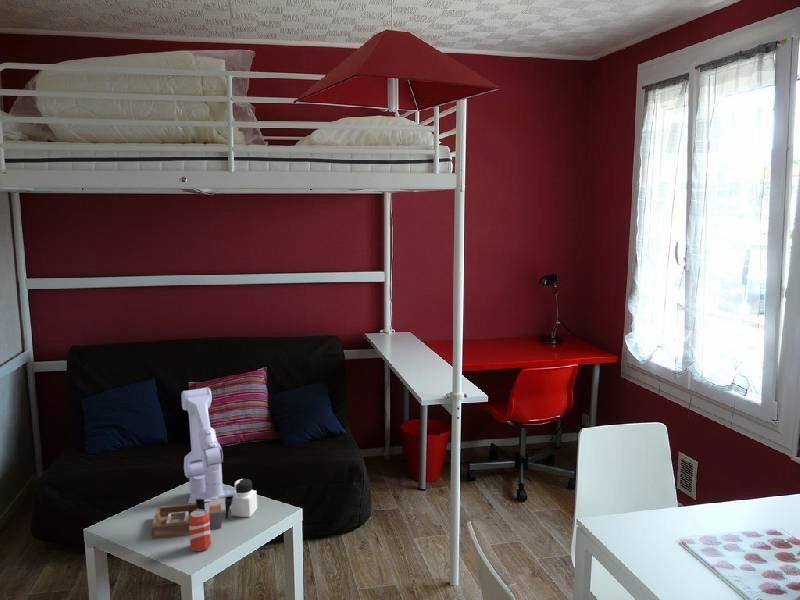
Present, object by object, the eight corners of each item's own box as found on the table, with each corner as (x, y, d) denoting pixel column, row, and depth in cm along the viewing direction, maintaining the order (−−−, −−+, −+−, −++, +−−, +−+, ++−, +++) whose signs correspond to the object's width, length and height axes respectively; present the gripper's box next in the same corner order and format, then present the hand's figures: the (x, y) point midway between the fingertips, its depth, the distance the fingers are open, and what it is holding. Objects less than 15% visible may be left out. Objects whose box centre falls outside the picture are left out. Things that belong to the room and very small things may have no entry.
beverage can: (205, 540, 221) (202, 506, 219) (214, 547, 216) (212, 513, 214) (187, 547, 217) (185, 512, 215) (196, 554, 212) (194, 519, 210)
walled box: (158, 517, 237) (157, 507, 236) (202, 513, 240) (201, 502, 239) (151, 538, 222) (151, 527, 222) (198, 533, 225) (197, 522, 225)
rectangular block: (211, 522, 233) (210, 504, 232) (221, 521, 233) (220, 502, 232) (210, 529, 228) (209, 510, 227) (220, 528, 229) (219, 509, 228)
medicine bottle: (257, 508, 243) (256, 477, 241) (250, 517, 236) (248, 485, 234) (239, 507, 244) (237, 476, 242) (231, 516, 237) (229, 484, 235)
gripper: (190, 488, 223) (192, 526, 225) (234, 484, 226) (236, 521, 228) (192, 479, 230) (194, 516, 232) (235, 475, 233) (237, 512, 235)
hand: (215, 518), depth 230 cm, fingers open, 7 cm apart
